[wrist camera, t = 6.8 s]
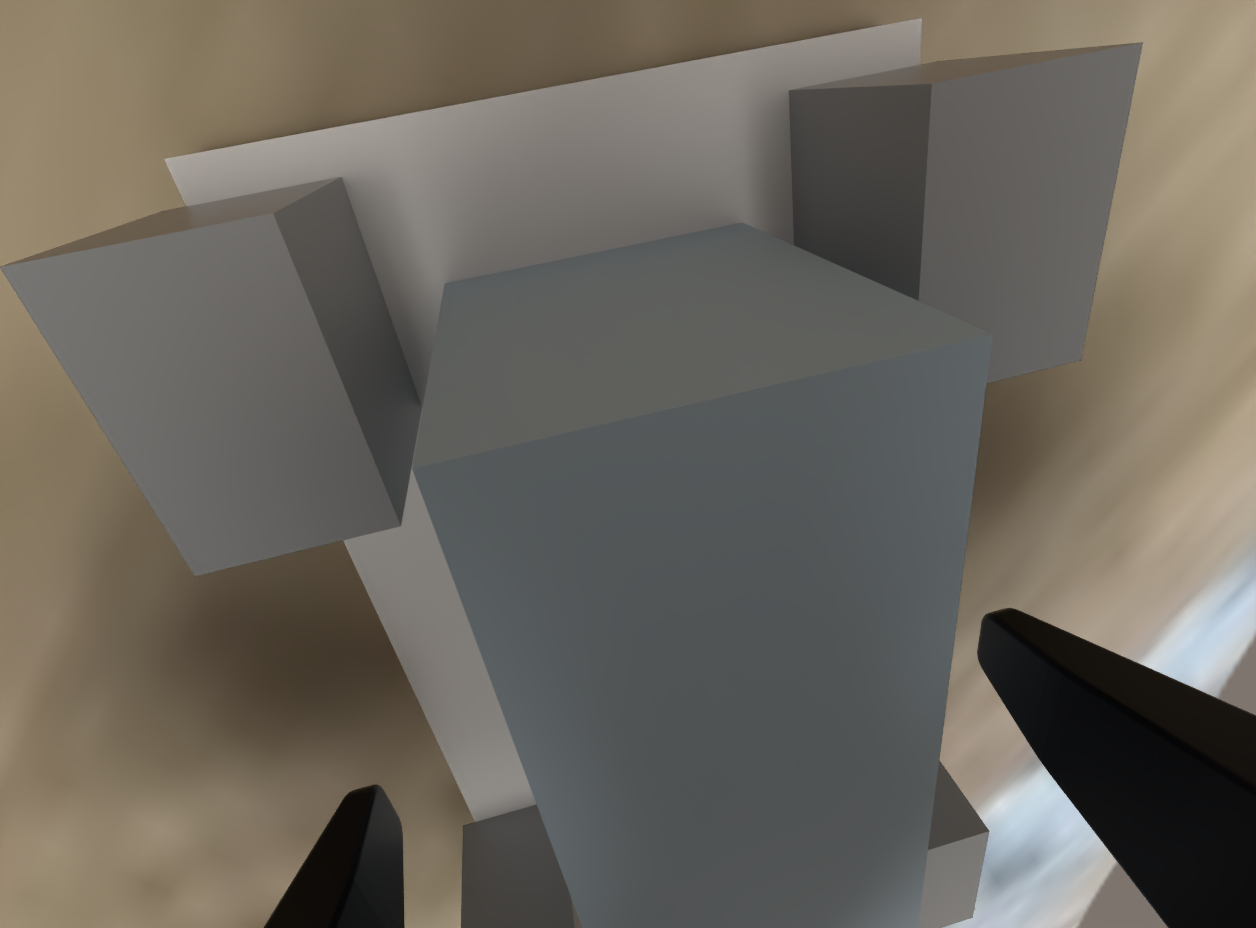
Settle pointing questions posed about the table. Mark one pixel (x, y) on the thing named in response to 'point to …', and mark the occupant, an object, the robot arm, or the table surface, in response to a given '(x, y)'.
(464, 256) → the jig
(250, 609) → the table surface
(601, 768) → the grey rectangular block
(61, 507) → the table surface
